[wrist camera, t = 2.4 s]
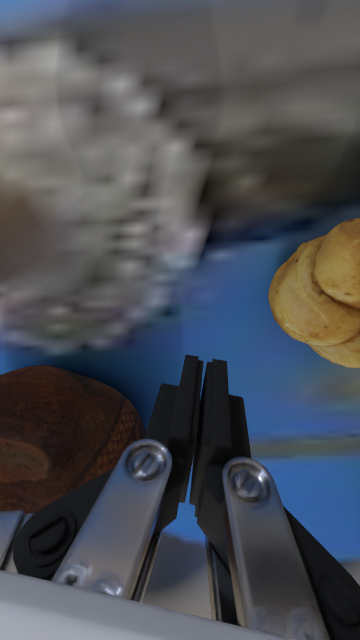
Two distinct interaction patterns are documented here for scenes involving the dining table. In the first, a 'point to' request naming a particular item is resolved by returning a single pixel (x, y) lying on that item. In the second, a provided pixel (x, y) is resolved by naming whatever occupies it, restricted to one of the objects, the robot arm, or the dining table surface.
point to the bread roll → (323, 294)
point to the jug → (58, 434)
